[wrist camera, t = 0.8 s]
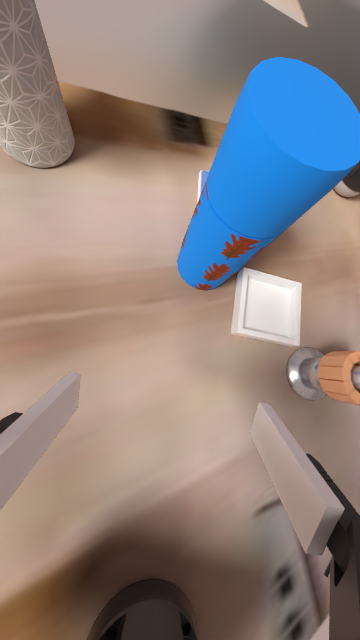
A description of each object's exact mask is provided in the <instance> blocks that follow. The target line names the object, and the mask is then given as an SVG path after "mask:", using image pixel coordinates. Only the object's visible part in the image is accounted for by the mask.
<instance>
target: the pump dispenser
mask: <svg viewBox="0 0 360 640" xmlns="http://www.w3.org/2000/svg"><path fill="white" fill-rule="evenodd" d="M334 190H335V191H336V192H337V193H338V194H340V195H342V196H345V197H352V196H356V195H359V194H360V161H359V163H358V164H357V165H356V166H355V167H354V168H353V169H352V170H351V171H350V172H349V173H348V174H347V175H346V176H345V177H344V178H343V179H342V180H341V181H340V182H339V183H338V185H336V186H335V187H334Z"/></svg>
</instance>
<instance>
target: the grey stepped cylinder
mask: <svg viewBox="0 0 360 640" xmlns="http://www.w3.org/2000/svg"><path fill="white" fill-rule="evenodd" d="M323 356H324V355H323V354H322V353H321V352H319V351H318V350H316V349H313V348H301V349H298V350H296V351H295V352H293V354H292V355H291V356H290V358H289V360H288V363H287V378H288V381H289V384H290V386H291V387H292V389H293V390H294V392H295V393H296V394H298V395H299V396H301V397H302V398H305V399H309V400H319V399H322V398H323V397H325V396H326V395H327V394H326V393H325V392H324V390H323V389H322V387H321V384H320V382H319V380H318V379H320V378H318V366H319V363H320V361H321V359H322V357H323ZM350 372H351V382H352V384H353V386H354V389H358V390H360V366H353V367H352V369H351V371H350Z"/></svg>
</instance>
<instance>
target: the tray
mask: <svg viewBox="0 0 360 640" xmlns="http://www.w3.org/2000/svg"><path fill="white" fill-rule="evenodd" d="M301 284H302V283H299V282H295V281H292V280H288V279H284V278H281V277H277V276H274V275H270V274H267V273H263V272H260V271H256V270H252V269H249V268H245V267H244V268H242V269H241V270H240V271H239V272H238V274H237V283H236V291H235V300H234V309H233V318H232V327H231V334H233V335H237V336H242V337H247V338H251V339H256V340H261V341H265V342H270V343H275V344H279V345H284V346H289V347H293V346H300V316H301Z"/></svg>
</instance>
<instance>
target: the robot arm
mask: <svg viewBox="0 0 360 640" xmlns="http://www.w3.org/2000/svg"><path fill="white" fill-rule="evenodd" d="M80 376H81V374H78V373H72V372H69V373H68V374H67V375H66V376H65V377H64V378H63V379H61V380H60V381H59V382H58V383H57V384H56V385H55V386H54V387H53V388H51V389H50V390H49V391H48V392H47V393H46V394H45V395H44V396H42V397H41V398H40V399H39V400H38V401H37V402H36V403H35V404H34V405H32V406H31V407H30V408H29V409H28V410H27V411H26V412H25V413H17V412H15V413H13V414H11V415H9V416H7V417H5V418H3V419H2V420H0V511H1V509H2V508H3V507H4V505H5V504H6V503H7V501H8V500H9V499H10V497H11V496H12V495H13V493H14V492H15V491H16V489H17V488H18V487H19V485H20V484H21V483H22V481H23V480H24V479H25V477H26V476H27V475H28V473H29V472H30V471H31V469H32V468H33V467H34V465H35V464H36V463H37V461H38V460H39V459H40V457H41V456H42V455H43V453H44V452H45V451H46V449H47V448H48V447H49V445H50V444H51V443H52V441H53V440H54V439H55V437H56V436H57V435H58V433H59V432H60V431H61V429H62V428H63V427H64V425H65V424H66V423H67V421H68V420H69V419H70V417H71V416H72V415H73V413H74V412H75V411H76V409H77V408H78V400H79V388H80ZM250 435H251V437H252V439H253V442H254V444H255V446H256V448H257V450H258V452H259V454H260V457H261V459H262V461H263V463H264V465H265V467H266V470H267V472H268V474H269V476H270V478H271V480H272V483H273V485H274V487H275V489H276V491H277V493H278V495H279V498H280V500H281V502H282V504H283V506H284V508H285V511H286V513H287V515H288V517H289V519H290V521H291V524H292V526H293V528H294V530H295V532H296V534H297V537H298V539H299V541H300V543H301V545H302V547H303V549H304V552H305V553H307V554H315V555H322V554H323V552H324V550H325V548H326V546H328V548H329V550H330V552H331V554H332V555H333V556H332V558H331V560H330V562H329V564H328V566H327V568H326V570H325V573H324V575H325V576H326V577H328V575H329V573H330V625H329V640H360V515H359V514H358V513H357V512H356V510H355V509H354V508H353V506H352V505H351V504H350V502H349V501H348V500H347V499H346V497H345V496H344V495H343V493H342V492H341V491H340V489H339V488H338V487H337V485H336V484H335V483H333V480H332V479H331V478H330V476H329V475H327V472H326V471H325V470H324V468H323V467H322V466H321V464H320V463H319V462H318V461H317V460H316V459H315V458H313V457H312V456H311V455H310V454H305V453H304V451H303V450H302V449H301V447H300V446H299V444H298V443H297V442H296V440H295V439H294V437H293V436H292V435H291V433H290V432H289V431H288V429H287V428H286V426H285V425H284V424H283V422H282V421H281V419H280V418H279V417H278V415H277V414H276V413H275V411H274V410H273V408H272V407H271V406H270V404H268V403H261V402H259V405H258V408H257V411H256V414H255V417H254V421H253V424H252V427H251V430H250ZM87 640H199V636H198V631H197V627H196V622H195V617H194V613H193V610H192V608H191V605H190V603H189V601H188V600H187V598H186V597H185V595H184V594H183V593H182V592H181V591H180V590H179V589H178V588H177V587H175V586H174V585H172V584H170V583H168V582H165V581H161V580H146V581H142V582H139V583H136V584H133V585H131V586H129V587H128V588H126V589H124V590H123V591H122V592H120V593H119V594H118V595H117V596H115V597H114V598H113V599H112V600H111V601H110V602H109V603H108V604H107V606H106V607H105V608H104V609H103V611H102V612H101V613H100V615H99V616H98V618H97V619H96V621H95V623H94V625H93V626H92V628H91V630H90V633H89V635H88V637H87Z"/></svg>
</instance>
